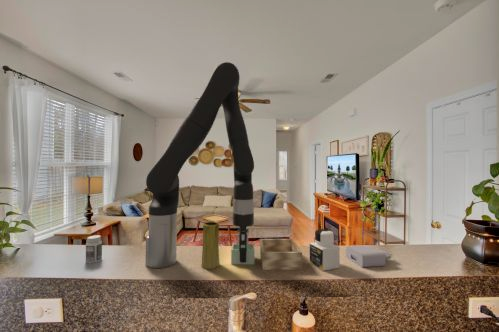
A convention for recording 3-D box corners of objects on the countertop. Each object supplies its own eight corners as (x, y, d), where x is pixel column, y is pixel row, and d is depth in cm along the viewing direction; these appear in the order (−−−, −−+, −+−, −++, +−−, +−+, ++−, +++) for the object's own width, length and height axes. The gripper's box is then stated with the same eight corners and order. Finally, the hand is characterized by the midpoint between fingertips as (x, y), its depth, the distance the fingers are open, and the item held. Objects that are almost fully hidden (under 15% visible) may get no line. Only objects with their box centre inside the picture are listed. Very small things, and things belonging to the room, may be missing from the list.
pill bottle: (99, 256, 83) (99, 234, 83) (103, 260, 80) (104, 236, 80) (83, 260, 79) (84, 236, 79) (87, 264, 76) (88, 239, 76)
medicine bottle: (309, 262, 79) (309, 228, 79) (325, 260, 81) (325, 227, 82) (322, 271, 72) (322, 234, 72) (340, 268, 75) (340, 232, 75)
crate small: (231, 264, 77) (231, 249, 77) (232, 257, 83) (232, 243, 83) (254, 264, 77) (254, 249, 77) (253, 257, 84) (253, 243, 84)
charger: (401, 265, 78) (362, 268, 75) (380, 255, 87) (345, 258, 84) (401, 252, 78) (362, 254, 75) (380, 243, 87) (345, 245, 84)
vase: (215, 270, 72) (216, 226, 73) (198, 268, 74) (198, 224, 74) (221, 262, 78) (222, 221, 79) (205, 261, 80) (206, 220, 80)
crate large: (262, 269, 73) (262, 252, 73) (259, 252, 88) (259, 238, 88) (302, 269, 73) (302, 252, 73) (292, 253, 88) (292, 239, 88)
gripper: (233, 208, 88) (233, 250, 87) (231, 215, 73) (231, 266, 73) (253, 208, 88) (252, 250, 88) (254, 215, 73) (254, 266, 73)
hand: (243, 257), depth 80 cm, fingers closed on crate small, 6 cm apart
